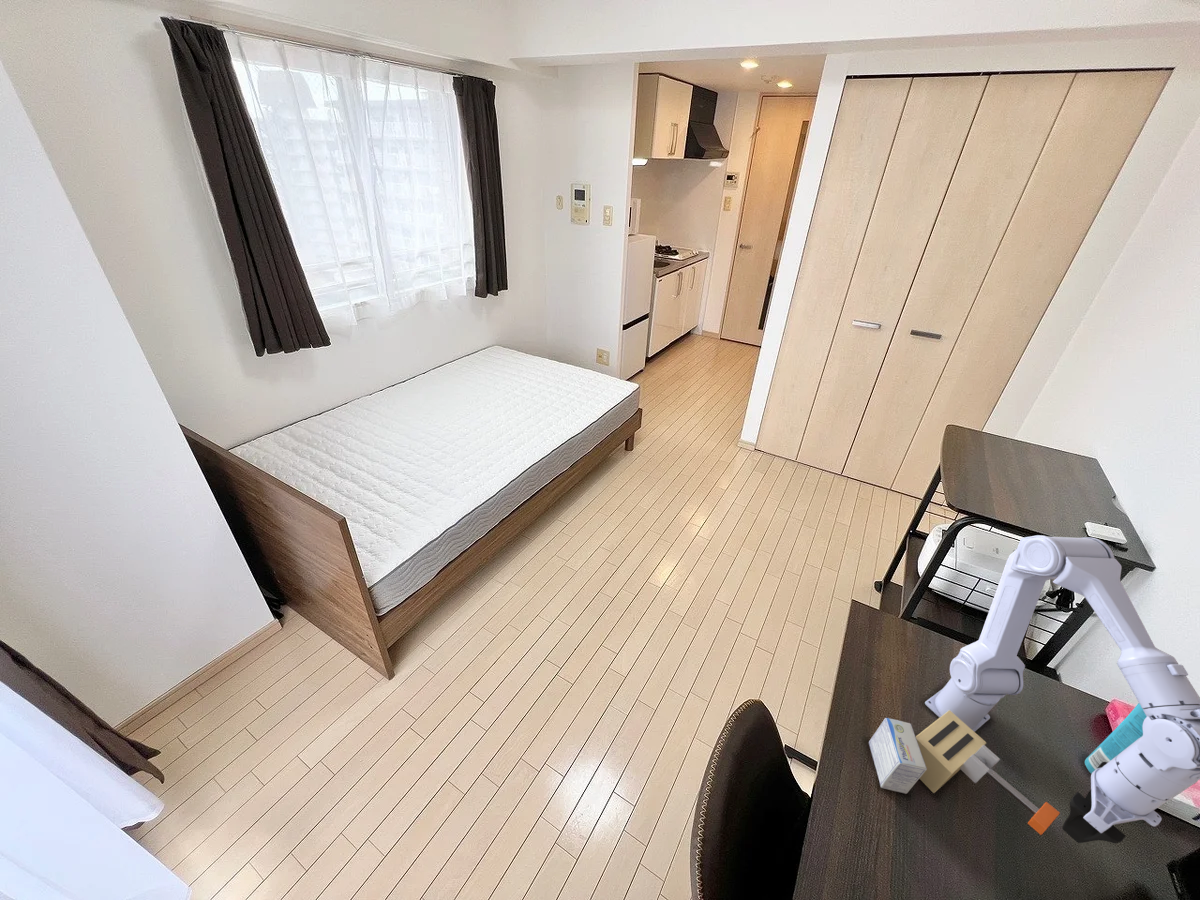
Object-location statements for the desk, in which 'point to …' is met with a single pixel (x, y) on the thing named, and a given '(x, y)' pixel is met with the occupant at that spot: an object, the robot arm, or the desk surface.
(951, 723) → the toaster
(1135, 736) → the tube
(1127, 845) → the desk surface
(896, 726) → the medicine box
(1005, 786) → the lever
